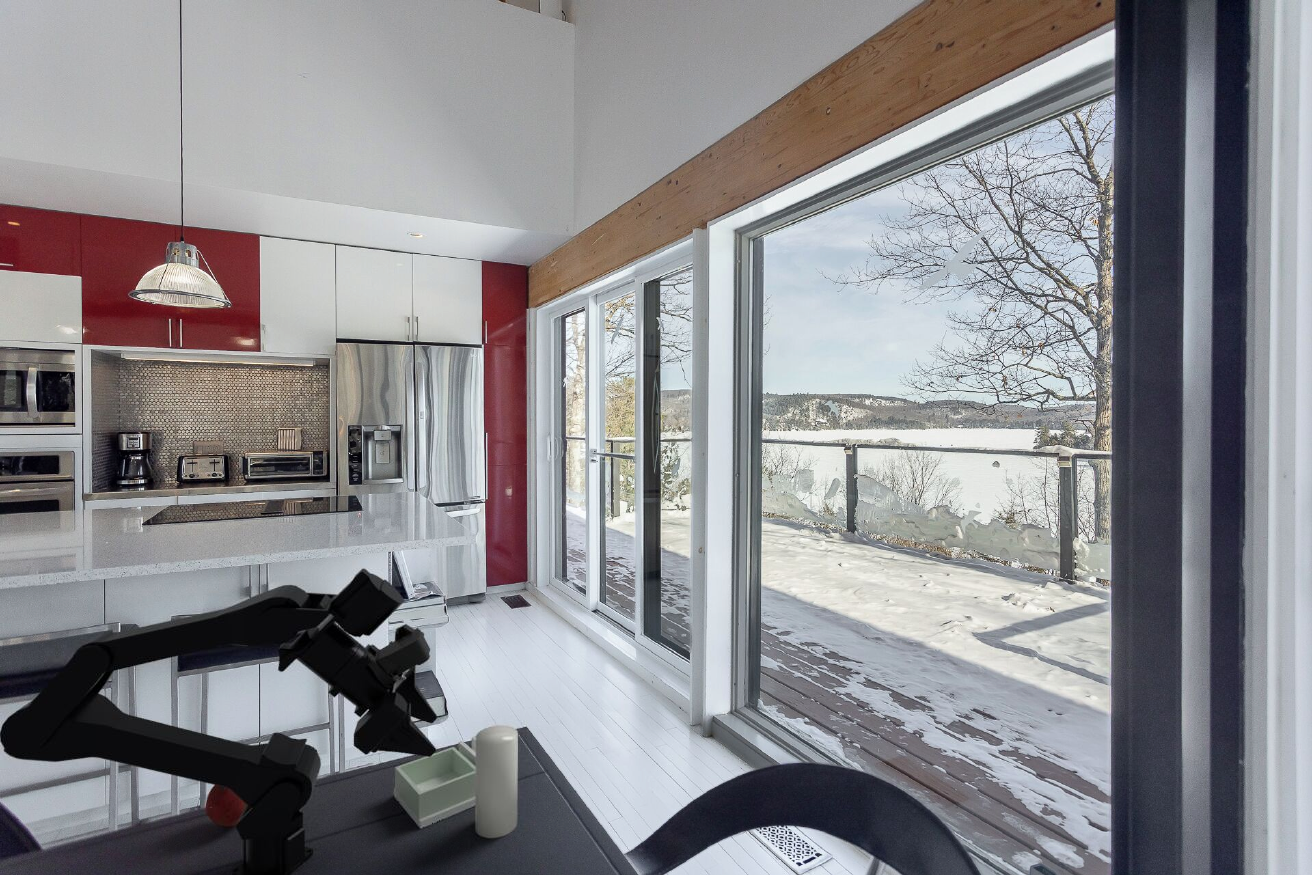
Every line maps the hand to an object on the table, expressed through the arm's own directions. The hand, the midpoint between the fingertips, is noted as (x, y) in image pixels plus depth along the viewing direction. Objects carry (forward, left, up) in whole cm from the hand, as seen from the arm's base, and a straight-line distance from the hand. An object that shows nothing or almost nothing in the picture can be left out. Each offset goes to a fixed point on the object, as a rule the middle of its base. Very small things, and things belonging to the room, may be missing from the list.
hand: (434, 735), depth 85 cm
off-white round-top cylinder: (+7, +5, -14) cm, 16 cm away
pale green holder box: (-4, +9, -14) cm, 17 cm away
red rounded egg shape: (-27, -7, -14) cm, 31 cm away
